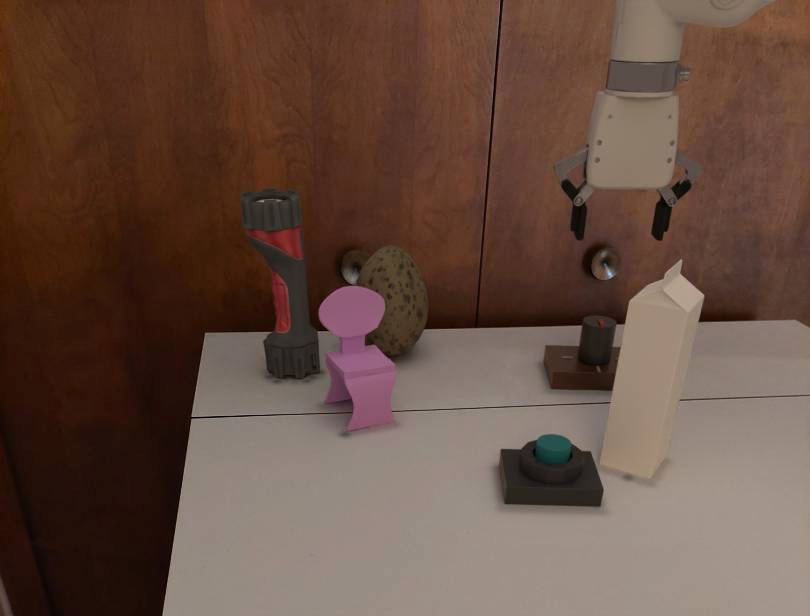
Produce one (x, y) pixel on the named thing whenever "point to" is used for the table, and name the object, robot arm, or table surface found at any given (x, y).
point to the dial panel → (578, 369)
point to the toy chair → (358, 356)
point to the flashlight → (283, 278)
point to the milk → (651, 373)
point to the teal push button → (553, 449)
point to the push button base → (549, 478)
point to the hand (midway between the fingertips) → (617, 237)
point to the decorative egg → (395, 299)
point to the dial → (596, 340)
